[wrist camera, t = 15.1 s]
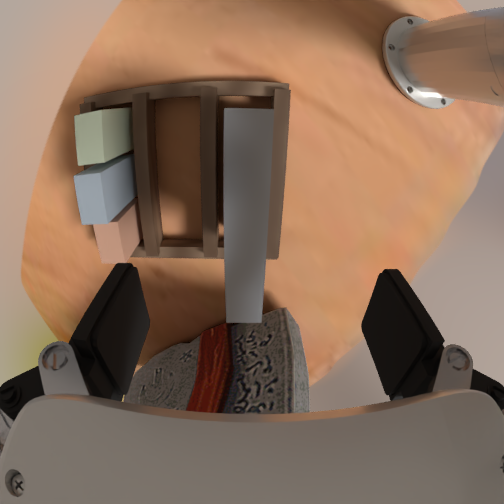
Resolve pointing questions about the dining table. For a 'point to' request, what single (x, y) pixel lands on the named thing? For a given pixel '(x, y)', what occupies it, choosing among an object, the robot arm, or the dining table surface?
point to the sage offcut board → (103, 135)
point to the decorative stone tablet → (230, 371)
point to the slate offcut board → (105, 189)
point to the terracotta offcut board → (120, 235)
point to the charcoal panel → (246, 209)
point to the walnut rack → (209, 111)
